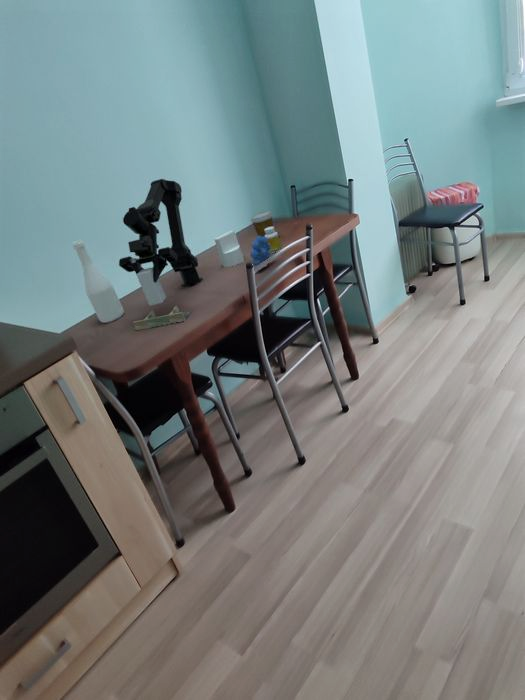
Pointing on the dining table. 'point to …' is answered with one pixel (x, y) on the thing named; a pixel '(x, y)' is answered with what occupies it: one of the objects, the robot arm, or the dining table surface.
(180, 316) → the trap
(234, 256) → the cylinder with rectangular tab
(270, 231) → the supplement bottle
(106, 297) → the wine bottle
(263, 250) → the grapes
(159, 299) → the grey block
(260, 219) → the disposable coffee cup
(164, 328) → the dining table surface
